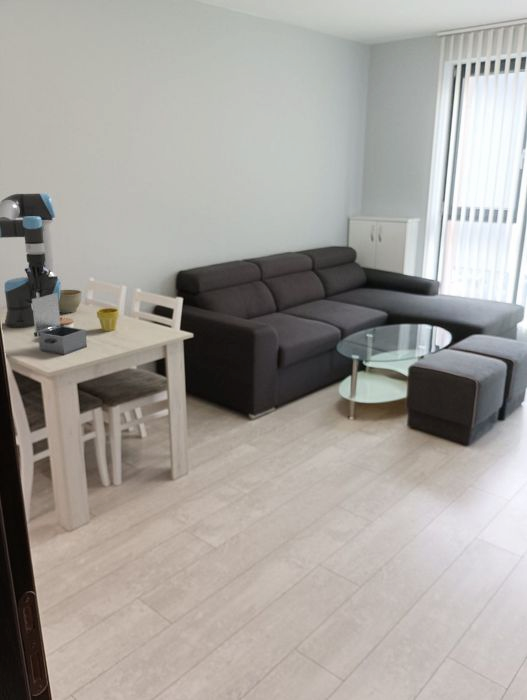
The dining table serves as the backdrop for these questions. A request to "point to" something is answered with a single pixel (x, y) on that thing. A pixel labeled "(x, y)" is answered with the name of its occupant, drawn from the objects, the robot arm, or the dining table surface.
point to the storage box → (62, 340)
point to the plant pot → (108, 318)
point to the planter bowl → (69, 300)
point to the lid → (46, 312)
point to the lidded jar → (67, 322)
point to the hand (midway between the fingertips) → (41, 306)
